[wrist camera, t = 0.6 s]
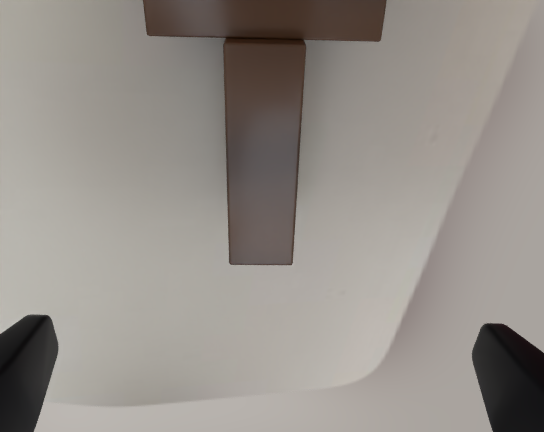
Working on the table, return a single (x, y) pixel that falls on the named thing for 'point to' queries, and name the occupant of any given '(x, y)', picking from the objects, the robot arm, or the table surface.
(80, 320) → the table surface
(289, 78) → the brown t-shaped slab
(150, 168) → the table surface
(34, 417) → the robot arm
